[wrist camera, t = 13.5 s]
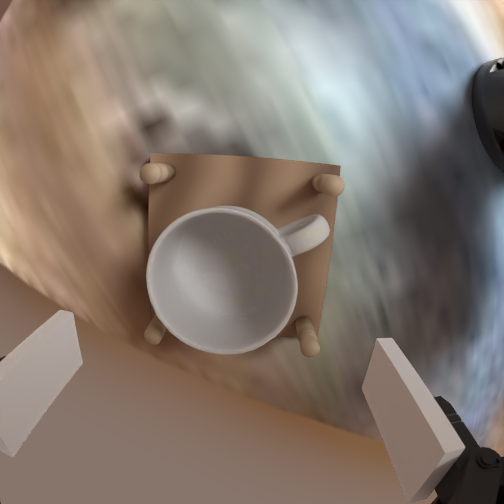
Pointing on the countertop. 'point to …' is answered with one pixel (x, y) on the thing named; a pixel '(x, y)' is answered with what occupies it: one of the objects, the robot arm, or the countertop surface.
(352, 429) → the countertop surface
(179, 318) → the teacup
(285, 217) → the rack
